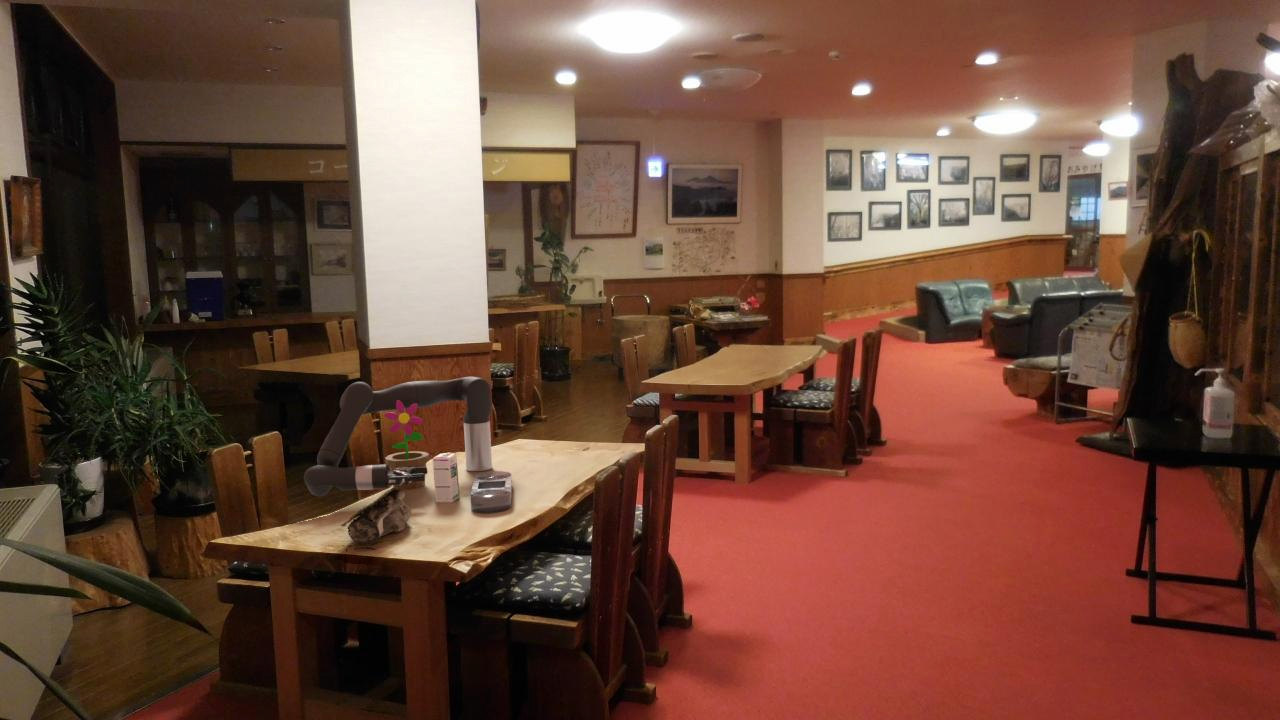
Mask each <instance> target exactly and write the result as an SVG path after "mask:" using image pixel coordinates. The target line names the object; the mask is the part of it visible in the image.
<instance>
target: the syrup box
mask: <svg viewBox="0 0 1280 720" xmlns="http://www.w3.org/2000/svg"><path fill="white" fill-rule="evenodd" d="M457 458H458V457H457V454H456V453H453V452H452V453H451V452H450V453H449V452H447V453H444V452H443V453H439V454H437V455H436V456H434V457H433V458H432V466H433V467H432V469H433V481H434V494H435V502H436V503H446V504H447V503H454V502H455V501H456V500H458V499H459V498H460V485H459V471H458V469H459V468H458V459H457Z"/></svg>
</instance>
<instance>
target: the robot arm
mask: <svg viewBox="0 0 1280 720" xmlns="http://www.w3.org/2000/svg"><path fill="white" fill-rule="evenodd" d="M397 400H400V401H401V402H402V403H403V406H404V410H407V409H408V408H409V407H410V406H411V405H413V404H415V403H416V404H418V407H417V409H421V408H428V407H432V406H436V405H438V404H441V403H445V402H457V401H458V402H466V412H465V413H464V414H463V417H462V418H463V419H462V420H463V433H464V450H465V451H464V452H465V455H464V456H465V469H466V471H468V472H485V471H488V470H492V469H493V458H492V456H493V455H492V436H491V422H490V416H491V414H492V391H491V385H490V383H489V382H488V381H487V379H484V378H482V377H477V376H474V375H473V376H470V375H469V376H465V377H459V378H455V379H450V380H417V381H416V380H415V381H406V382H404V383H399V384H397V385H393V386H391V387H388V388H385V389H382V390H375V391H374V390H373V389H372V387H371V386H370V385H369V384H368V383H366V382H364V381H356V382H353V383H351V384H350V385H348V386H347V388H346V389H345V390H344V391H343V393H342V395H341V397H340V400H339V408H340V411H339V414H338V416H337V419H336V420H335V422H334V424H333V425H332V426H331V428H330V430H329V432H328V434H327V436H326V437H325V439H324V441H323V443H322V445H321V446H320V449H319V452H318V454H317V456H316V462H317V464H316V465H314V466H311V467H309V468H308V469H306V471H305V472H304V474H303V481H304V483H305V485H306V486H307V489H308V491H309V493H310V494H311V495H313V496H315V497H323V496H325V495H326V494H327V493H329V492H330V490H331V489H332V487H336V488H338V489H339V490H341V491H357V490H360V491H367V490H368V491H370V490H383V489H384V490H385V489H389V488H390V486H393V485H399V484H402V485H403V484H409V483H411V482H414V481H424V474H425V475H427V474H428V467H427V466H426V467H417V468H415V467H414V466H402V467H394V470H390V467H389V466H388V465H387V464H386V463H383V464H368V465H361V466H352V467H341V466H340V467H339V464H340V462H341V460H342V458H343V456H344V454H345V452H346V449H347V447H348V445H349V442H350V440H351V437H352V435H353V433H354V431H355V428H356V426H357V424H358V422H359V421H360V419H361V417H362V416H364V415H369V414H373V413H378V412H384V411H385V412H386V411H398V410H397V408H396V401H397ZM409 470H410V472H409Z"/></svg>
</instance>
